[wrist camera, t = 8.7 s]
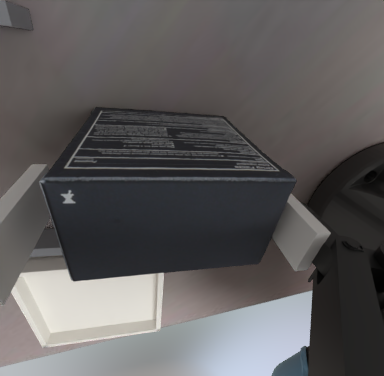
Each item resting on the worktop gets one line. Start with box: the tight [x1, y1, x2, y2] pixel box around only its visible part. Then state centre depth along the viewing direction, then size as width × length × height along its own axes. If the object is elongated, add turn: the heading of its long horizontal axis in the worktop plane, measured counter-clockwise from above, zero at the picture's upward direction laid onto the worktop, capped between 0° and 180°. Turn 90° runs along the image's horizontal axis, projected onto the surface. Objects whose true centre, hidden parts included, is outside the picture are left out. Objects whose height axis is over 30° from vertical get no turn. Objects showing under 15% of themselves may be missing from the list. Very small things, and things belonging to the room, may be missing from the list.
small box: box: [39, 107, 296, 281], centre depth 14 cm, size 11×6×10 cm, turn 84°
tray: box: [11, 255, 164, 348], centre depth 26 cm, size 15×15×2 cm
